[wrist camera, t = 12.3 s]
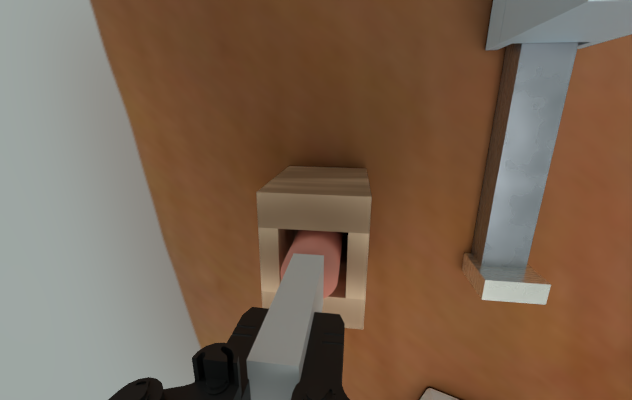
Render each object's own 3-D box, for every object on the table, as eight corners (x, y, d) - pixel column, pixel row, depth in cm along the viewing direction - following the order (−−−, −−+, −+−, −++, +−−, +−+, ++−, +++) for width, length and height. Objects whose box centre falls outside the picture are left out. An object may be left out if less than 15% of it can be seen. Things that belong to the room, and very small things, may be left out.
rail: (522, -104, 17) (570, -165, 13) (599, -109, 17) (672, -175, 13) (461, 269, 24) (481, 299, 20) (514, 273, 23) (545, 304, 20)
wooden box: (288, 166, 23) (256, 192, 16) (366, 168, 23) (371, 197, 15) (290, 258, 26) (263, 320, 18) (361, 262, 25) (363, 329, 17)
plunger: (305, 201, 23) (279, 247, 15) (344, 203, 22) (339, 251, 15) (305, 238, 23) (281, 298, 16) (343, 240, 23) (337, 303, 16)
